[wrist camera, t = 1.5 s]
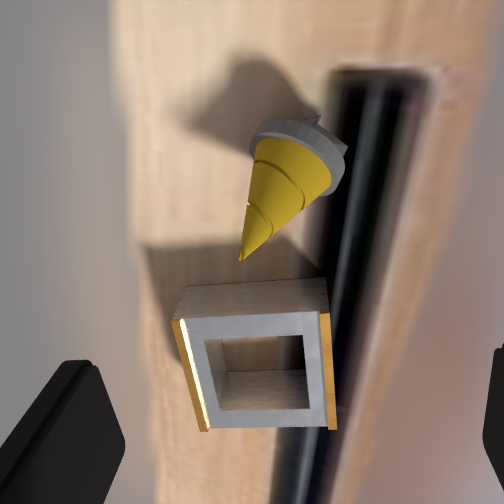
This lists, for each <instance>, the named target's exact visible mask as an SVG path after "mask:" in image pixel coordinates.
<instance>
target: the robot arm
mask: <svg viewBox="0 0 504 504" xmlns="http://www.w3.org/2000/svg"><path fill="white" fill-rule="evenodd" d="M483 444H484V448H485V450H486V453H487V455H488V457H489V460H490V462H491V464H492V466H493V468H494V471H495V473H496V475H497V477H498V479H499V482H500V484H501V486H502V488H503V490H504V344H503V346H502V348H497V349H495V351H494V357H493V363H492V371H491V378H490V385H489V392H488V399H487V406H486V413H485V420H484V427H483ZM124 452H125V439H124V436H123V434H122V431H121V429H120V426H119V423H118V420H117V418H116V415H115V412H114V409H113V407H112V404H111V401H110V399H109V396H108V393H107V391H106V388H105V385H104V383H103V380H102V377H101V374H100V371H99V369H98V367H96V366H95V365H92V363H91V362H90V361H89V360H69V361H64V362H63V363H62V364H61V365H60V366H59V368H58V369H57V370H56V372H55V373H54V374H53V376H52V377H51V379H50V380H49V381H48V383H47V384H46V385H45V387H44V388H43V390H42V391H41V392H40V394H39V395H38V397H37V398H36V399H35V401H34V402H33V403H32V405H31V406H30V408H29V409H28V411H27V412H26V413H25V415H24V416H23V417H22V418H21V420H20V421H19V423H18V424H17V425H16V427H15V428H14V430H13V431H12V432H11V434H10V435H9V436H8V438H7V439H6V441H5V442H4V443H3V445H2V446H1V448H0V504H103V503H104V501H105V499H106V496H107V494H108V491H109V489H110V487H111V484H112V482H113V479H114V477H115V475H116V472H117V470H118V467H119V465H120V463H121V460H122V458H123V455H124Z"/></svg>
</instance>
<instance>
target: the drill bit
mask: <svg viewBox="0 0 504 504" xmlns="http://www.w3.org/2000/svg"><path fill="white" fill-rule="evenodd" d="M320 118H321V116H320V117H315V118H310V119H305V120H300V121H294V120H289V119H272V120H269V121H267V122H265V123H263V124H262V125H261V126H260V128H259V129H258V131H257V133H256V134H255V136H254V138H253V139H252V141H251V144H250V151H251V155H252V157H253V159H254V165H253V170H252V177H251V183H250V190H249V196H248V202H249V203H250V206H249V205H247V209H246V215H245V222H244V228H243V234H242V241H241V243H242V245H243V246H241V248H240V254H239V261H242V260H244V259H245V258H246V257H247V256H248V255H250V254H251V253H252V252H253V251H254V250H255V249H257V248H258V247H259V246H260V245H261V244H263V243H264V242H265V241H266V240H267V239H268V238H270V237H271V236H272V235H273V234H274V233H276V232H277V231H278V230H279V229H280V228H281V227H283V226H284V225H285V224H286V223H287V222H289V221H290V220H291V219H292V218H293V217H294V216H296V215H297V214H298V213H299V212H300V211H302V210H303V209H304V208H305V207H306V206H307V205H309V204H310V203H311V202H312V201H313V200H315V199H316V198H317V197H318V196H325V195H328V194H330V193H332V192H333V191H334V190H335V189H336V187H337V185H338V183H339V181H340V179H341V177H342V175H343V173H344V169H345V164H344V160H343V158H342V157H343V155H344V153H345V151H346V149H347V148H348V146H346V145H345V144H344V143H342V142H341V141H340V140H338V139H337V138H336V137H334V136H333V135H332V134H330V133H329V132H328V131H326V130H325V129H324V128H322V127H321V126H320V125H318V123H319V120H320Z"/></svg>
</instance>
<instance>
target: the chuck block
mask: <svg viewBox="0 0 504 504" xmlns="http://www.w3.org/2000/svg"><path fill="white" fill-rule="evenodd" d="M171 324H172V328H173V332H174V336H175V339H176V343H177V347H178V351H179V354H180V358H181V362H182V366H183V369H184V373H185V377H186V381H187V384H188V388H189V392H190V396H191V399H192V403H193V407H194V410H195V414H196V418H197V422H198V425H199V429H200V432H208V430H209V428H253V427H309V426H328V430H334V429H337V422H336V407H335V391H334V375H333V360H332V344H331V329H330V313H329V305H328V296H327V287H326V279H325V277H321V278H306V279H292V280H277V281H262V282H247V283H232V284H217V285H203V286H188V287H186V288H185V291H184V293H183V295H182V298H181V300H180V302H179V305H178V307H177V309H176V312H175V314H174V316H173V318H172V321H171ZM290 335H303V342H304V352H305V362H306V369H297V370H270V371H244V372H228V371H227V366H226V361H225V356H224V351H223V347H222V342H221V339H228V338H249V337H269V336H290Z"/></svg>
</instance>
